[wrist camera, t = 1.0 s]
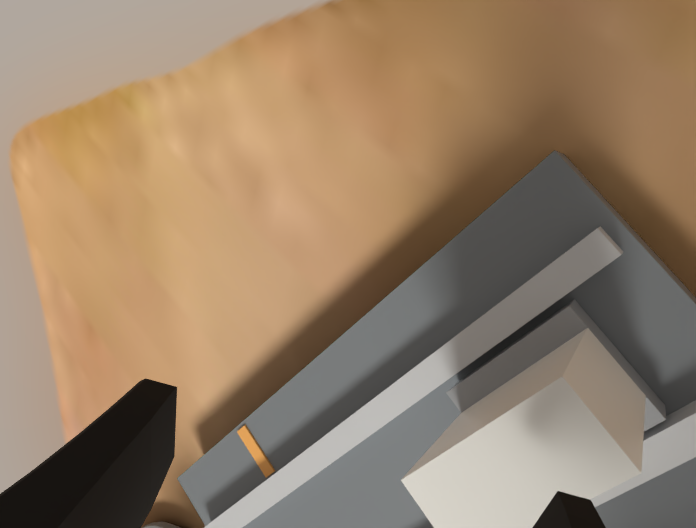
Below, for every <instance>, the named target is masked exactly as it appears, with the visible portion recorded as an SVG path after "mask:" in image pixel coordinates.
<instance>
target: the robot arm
mask: <svg viewBox="0 0 696 528" xmlns="http://www.w3.org/2000/svg"><path fill="white" fill-rule="evenodd" d="M176 398H177V387H175V386H171V385H167V384H164V383H160V382H156V381H153V380H149V379H144V380H142V381H140V382H139V383H137V384H136V385H135V386H134V387H133V388H132V389H131V390H130V391H129V392H127V393H126V394H125V395H124V396H123V397H122V398H121V399H119V400H118V401H117V402H116V403H115V404H114V405H113V406H111V407H110V408H109V409H108V410H107V411H106V412H104V413H103V414H102V415H101V416H100V417H99V418H97V419H96V420H95V421H94V422H93V423H91V424H90V425H89V426H88V427H87V428H85V429H84V430H83V431H82V432H81V433H79V434H78V435H77V436H76V437H74V438H73V439H72V440H71V441H69V442H68V443H67V444H66V445H64V446H63V447H62V448H60V449H59V450H58V451H57V452H55V453H54V454H53V455H52V456H50V457H49V458H48V459H47V460H45V461H44V462H43V463H41V464H40V465H39V466H38V467H36V468H35V469H34V470H32V471H31V472H30V473H29V474H27V475H26V476H24V477H23V478H22V479H20V480H19V481H17V482H16V483H15V484H13V485H12V486H11V487H9V488H8V489H6V490H5V491H4V492H2V493H1V494H0V528H141V526H142V524H143V522H144V521H145V519H146V517H147V515H148V514H149V512H150V510H151V508H152V506H153V504H154V501H155V499H156V497H157V495H158V492H159V490H160V488H161V486H162V484H163V481H164V479H165V477H166V474H167V472H168V470H169V467H170V465H171V463H172V460H173V458H174V449H175V424H176ZM533 528H606V527H605V525H604V523H603V521H602V520H601V518H600V516H599V514H598V512H597V510H596V509H595V507H594V505H593V503H592V501H591V500H589V499H586V498H582V497H578V496H575V495H571V494H567V493H564V492H560V491H557V493H556V494H555V495H554V497H553V498H552V500H551V501H550V503H549V504H548V506H547V507H546V509H545V510H544V512H543V513H542V514H541V516H540V517H539V519H538V520H537V522H536V523H535V525H534V526H533Z"/></svg>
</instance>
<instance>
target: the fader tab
mask: <svg viewBox="0 0 696 528" xmlns="http://www.w3.org/2000/svg"><path fill="white" fill-rule="evenodd" d="M447 395H448V396H449V397H450V399H451V400H452V401H453V403H454V404H455V405H456V407H457V408H458V409H459V411H460V412H461V414H460V415H459V416H458V417H457V418H456V419H455V420H454V421H453V423H452V424H451V425H450V426H449V427H448V428H447V429H446V430H445V431H444V433H443V434H442V435H441V436H440V437H439V438H438V439H437V440H436V441H435V443H434V444H433V445H432V446H431V447H430V448H429V449H428V450H427V451H426V453H425V454H424V455H423V456H422V457H421V458H420V459H419V460H418V462H417V463H416V464H415V465H414V466H413V467H412V468H411V469H410V470H409V472H408V473H407V474H406V475H405V476H404V477H403V478H402V479H401V481H402V483H403V484H404V486H405V487H406V488H407V490H408V491H409V493H410V494H411V496H412V497H413V498H414V500H415V501H416V503H417V504H418V506H419V507H420V508H421V510H422V511H423V513H424V514H425V516H426V517H427V519H428V520H429V521H430V523H431V524H432V526H433V527H434V528H533V526H534V525H535V523H536V522H537V520H538V519H539V517H540V516H541V514H542V513H543V512H544V510H545V509H546V507H547V506H548V504H549V503H550V501H551V500H552V498H553V497H554V495H555V494H556V493H557V491H560V492H564V493H567V494H571V495H575V496H578V497H582V498H586V499H589V500H590V499H592V498H594V497H596V496H598V495H600V494H602V493H604V492H605V491H607V490H609V489H611V488H613V487H615V486H617V485H619V484H621V483H623V482H625V481H627V480H629V479H631V478H633V477H635V476H637V475H639V474H641V471H642V453H643V435H644V431H646V430H648V429H650V428H652V427H654V426H655V425H657V424H659V423H661V422H663V421H665V420H666V408H665V404H664V403H663V402H662V401H661V400H660V399H659V397H658V396H657V395H656V394H655V393H654V392H653V390H652V389H651V388H650V387H649V386H648V385H647V383H646V382H645V381H644V380H643V379H642V378H641V376H640V375H639V374H638V373H637V372H636V371H635V369H634V368H633V367H632V366H631V365H630V363H629V362H628V361H627V360H626V359H625V358H624V356H623V355H622V354H621V353H620V352H619V351H618V349H617V348H616V347H615V346H614V345H613V344H612V342H611V341H610V340H609V339H608V338H607V337H606V335H605V334H604V333H603V332H602V331H601V330H600V328H599V327H598V326H597V325H596V324H595V323H594V321H593V320H592V319H591V318H590V317H589V316H588V314H587V313H586V312H585V311H584V310H583V309H582V307H581V306H580V305H579V304H578V303H577V301H576V300H575V299H574V300H573V301H571V302H570V303H568V304H567V305H566V306H564V307H563V308H561V309H560V310H559V311H557V312H556V313H554V314H553V315H552V316H550V317H549V318H547V319H546V320H544V321H543V322H542V323H540V324H539V325H537V326H536V327H535V328H533V329H532V330H530V331H529V332H528V333H526V334H525V335H523V336H522V337H521V338H519V339H518V340H516V341H515V342H513V343H512V344H511V345H509V346H508V347H506V348H505V349H504V350H502V351H501V352H499V353H498V354H497V355H495V356H494V357H492V358H491V359H489V360H488V361H487V362H485V363H484V364H482V365H481V366H480V367H478V368H477V369H475V370H474V371H473V372H471V373H470V374H468V375H467V376H466V377H464V378H463V379H461V380H460V381H458V382H457V383H456V384H455V385H454V386H453V387H452V388H451V389H450V390H449V391H448V392H447Z"/></svg>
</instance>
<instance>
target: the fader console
mask: <svg viewBox="0 0 696 528" xmlns="http://www.w3.org/2000/svg"><path fill="white" fill-rule="evenodd" d="M574 299H575V300H576V301H577V303H578V304H579V305H580V306H581V307H582V309H583V310H584V311H585V312H586V313H587V314H588V316H589V317H590V318H591V319H592V320H593V321H594V323H595V324H596V325H597V326H598V327H599V328H600V330H601V331H602V332H603V333H604V334H605V335H606V337H607V338H608V339H609V340H610V341H611V342H612V344H613V345H614V346H615V347H616V348H617V349H618V351H619V352H620V353H621V354H622V355H623V356H624V358H625V359H626V360H627V361H628V362H629V363H630V365H631V366H632V367H633V368H634V369H635V371H636V372H637V373H638V374H639V375H640V376H641V378H642V379H643V380H644V381H645V382H646V383H647V385H648V386H649V387H650V388H651V389H652V390H653V392H654V393H655V394H656V395H657V396H658V397H659V399H660V400H661V401H662V402H663V403H664V404H665V408H666V420H665V421H663V422H661V423H659V424H657V425H655V426H654V427H652V428H650V429H648V430H646V431H644V435H643V453H642V471H641V474H639V475H637V476H635V477H633V478H631V479H629V480H627V481H625V482H623V483H621V484H619V485H617V486H615V487H613V488H611V489H609V490H607V491H605V492H604V493H602V494H600V495H598V496H596V497H594V498H592V499H590V500H591V501H592V503H593V505H594V507H595V509H596V510H597V512H598V514H599V516H600V518H601V520H602V521H603V523H604V525H605V527H606V528H696V297H695V296H694V295H693V294H692V293H691V292H690V291H689V290H688V289H687V288H686V286H685V285H684V284H683V283H682V282H681V281H680V280H679V279H678V278H677V277H676V276H675V274H674V273H673V272H672V271H671V270H670V269H669V268H668V267H667V266H666V265H665V264H664V263H663V261H662V260H661V259H660V258H659V257H658V256H657V255H656V254H655V253H654V252H653V251H652V249H651V248H650V247H649V246H648V245H647V244H646V243H645V242H644V241H643V240H642V239H641V237H640V236H639V235H638V234H637V233H636V232H635V231H634V230H633V229H632V228H631V227H630V226H629V224H628V223H627V222H626V221H625V220H624V219H623V218H622V217H621V216H620V215H619V214H618V212H617V211H616V210H615V209H614V208H613V207H612V206H611V205H610V204H609V203H608V202H607V200H606V199H605V198H604V197H603V196H602V195H601V194H600V193H599V192H598V191H597V190H596V189H595V187H594V186H593V185H592V184H591V183H590V182H589V181H588V180H587V179H586V178H585V177H584V175H583V174H582V173H581V172H580V171H579V170H578V169H577V168H576V167H575V166H574V165H573V163H572V162H571V161H570V160H569V159H568V158H567V157H566V156H565V155H564V154H562V153H560V152H558V151H555V150H554V151H553V152H552V153H551V154H550V155H549V156H548V157H546V158H545V159H544V160H543V161H542V162H541V163H539V164H538V165H537V166H536V167H535V168H534V169H533V170H531V171H530V172H529V173H528V174H527V175H526V176H525V177H523V178H522V179H521V180H520V181H519V182H518V183H516V184H515V185H514V186H513V187H512V188H511V189H510V190H508V191H507V192H506V193H505V194H504V195H503V196H501V197H500V198H499V199H498V200H497V201H496V202H495V203H493V204H492V205H491V206H490V207H489V208H488V209H487V210H485V211H484V212H483V213H482V214H481V215H480V216H478V217H477V218H476V219H475V220H474V221H473V222H472V223H470V224H469V225H468V226H467V227H466V228H465V229H464V230H462V231H461V232H460V233H459V234H458V235H457V236H455V237H454V238H453V239H452V240H451V241H450V242H449V243H447V244H446V245H445V246H444V247H443V248H442V249H440V250H439V251H438V252H437V253H436V254H435V255H434V256H432V257H431V258H430V259H429V260H428V261H427V262H426V263H424V264H423V265H422V266H421V267H420V268H419V269H417V270H416V271H415V272H414V273H413V274H412V275H411V276H409V277H408V278H407V279H406V280H405V281H404V282H403V283H401V284H400V285H399V286H398V287H397V288H396V289H394V290H393V291H392V292H391V293H390V294H389V295H388V296H386V297H385V298H384V299H383V300H382V301H381V302H379V303H378V304H377V305H376V306H375V307H374V308H373V309H371V310H370V311H369V312H368V313H367V314H366V315H365V316H363V317H362V318H361V319H360V320H359V321H358V322H356V323H355V324H354V325H353V326H352V327H351V328H350V329H348V330H347V331H346V332H345V333H344V334H343V335H342V336H340V337H339V338H338V339H337V340H336V341H335V342H333V343H332V344H331V345H330V346H329V347H328V348H327V349H325V350H324V351H323V352H322V353H321V354H320V355H318V356H317V357H316V358H315V359H314V360H313V361H312V362H310V363H309V364H308V365H307V366H306V367H305V368H304V369H302V370H301V371H300V372H299V373H298V374H297V375H295V376H294V377H293V378H292V379H291V380H290V381H289V382H287V383H286V384H285V385H284V386H283V387H282V388H281V389H279V390H278V391H277V392H276V393H275V394H274V395H272V396H271V397H270V398H269V399H268V400H267V401H266V402H264V403H263V404H262V405H261V406H260V407H259V408H257V409H256V410H255V411H254V412H253V413H252V414H251V415H249V416H248V417H247V418H246V419H245V420H244V421H243V422H241V423H240V424H239V425H238V426H237V427H236V428H234V429H233V430H232V431H231V432H230V433H229V434H228V435H226V436H225V437H224V438H223V439H222V440H221V441H220V442H218V443H217V444H216V445H215V446H214V447H213V448H211V449H210V450H209V451H208V452H207V453H206V454H205V455H203V456H202V457H201V458H200V459H199V460H198V461H197V462H195V463H194V464H193V465H192V466H191V467H190V468H188V469H187V470H186V471H185V472H184V473H183V474H182V475H180V476H179V477H178V478H177V479H178V481H179V482H180V484H181V486H182V487H183V489H184V491H185V492H186V494H187V496H188V498H189V499H190V501H191V503H192V504H193V506H194V508H195V509H196V511H197V513H198V514H199V516H200V518H201V519H202V521H203V523H204V525H205V527H204V528H434V527H433V526H432V524H431V523H430V521H429V520H428V519H427V517H426V516H425V514H424V513H423V511H422V510H421V508H420V507H419V506H418V504H417V503H416V501H415V500H414V498H413V497H412V496H411V494H410V493H409V491H408V490H407V488H406V487H405V486H404V484H403V483H402V481H401V479H402V478H403V477H404V476H405V475H406V474H407V473H408V472H409V470H410V469H411V468H412V467H413V466H414V465H415V464H416V463H417V462H418V460H419V459H420V458H421V457H422V456H423V455H424V454H425V453H426V451H427V450H428V449H429V448H430V447H431V446H432V445H433V444H434V443H435V441H436V440H437V439H438V438H439V437H440V436H441V435H442V434H443V433H444V431H445V430H446V429H447V428H448V427H449V426H450V425H451V424H452V423H453V421H454V420H455V419H456V418H457V417H458V416H459V415H460V414H461V412H460V411H459V409H458V408H457V407H456V405H455V404H454V403H453V401H452V400H451V399H450V397H449V396H448V395H447V392H448V391H449V390H450V389H451V388H452V387H453V386H454V385H455V384H456V383H457V382H458V381H460V380H461V379H463V378H464V377H466V376H467V375H468V374H470V373H471V372H473V371H474V370H475V369H477V368H478V367H480V366H481V365H482V364H484V363H485V362H487V361H488V360H489V359H491V358H492V357H494V356H495V355H497V354H498V353H499V352H501V351H502V350H504V349H505V348H506V347H508V346H509V345H511V344H512V343H513V342H515V341H516V340H518V339H519V338H521V337H522V336H523V335H525V334H526V333H528V332H529V331H530V330H532V329H533V328H535V327H536V326H537V325H539V324H540V323H542V322H543V321H544V320H546V319H547V318H549V317H550V316H552V315H553V314H554V313H556V312H557V311H559V310H560V309H561V308H563V307H564V306H566V305H567V304H568V303H570V302H571V301H573V300H574Z"/></svg>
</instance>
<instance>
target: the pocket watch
mask: <svg viewBox="0 0 696 528" xmlns="http://www.w3.org/2000/svg"><path fill="white" fill-rule="evenodd" d="M142 528H180V527H179V526H176V525H173V524H170V523H166V522H153V523H150V524H147V525H145V526H144V527H142Z"/></svg>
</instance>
